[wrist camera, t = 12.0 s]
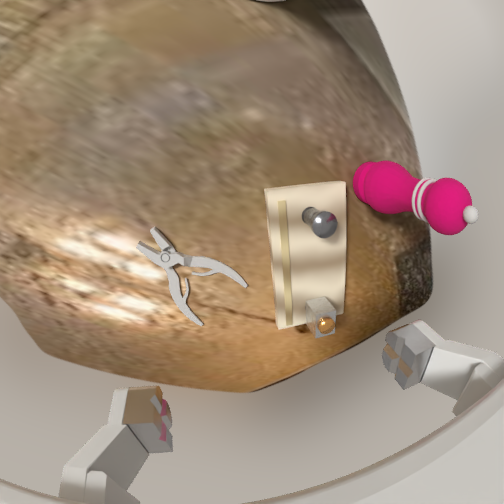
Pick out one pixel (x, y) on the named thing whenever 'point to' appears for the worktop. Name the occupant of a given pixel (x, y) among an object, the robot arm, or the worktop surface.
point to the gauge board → (305, 249)
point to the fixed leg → (321, 222)
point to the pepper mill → (415, 196)
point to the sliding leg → (320, 317)
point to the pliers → (172, 257)
